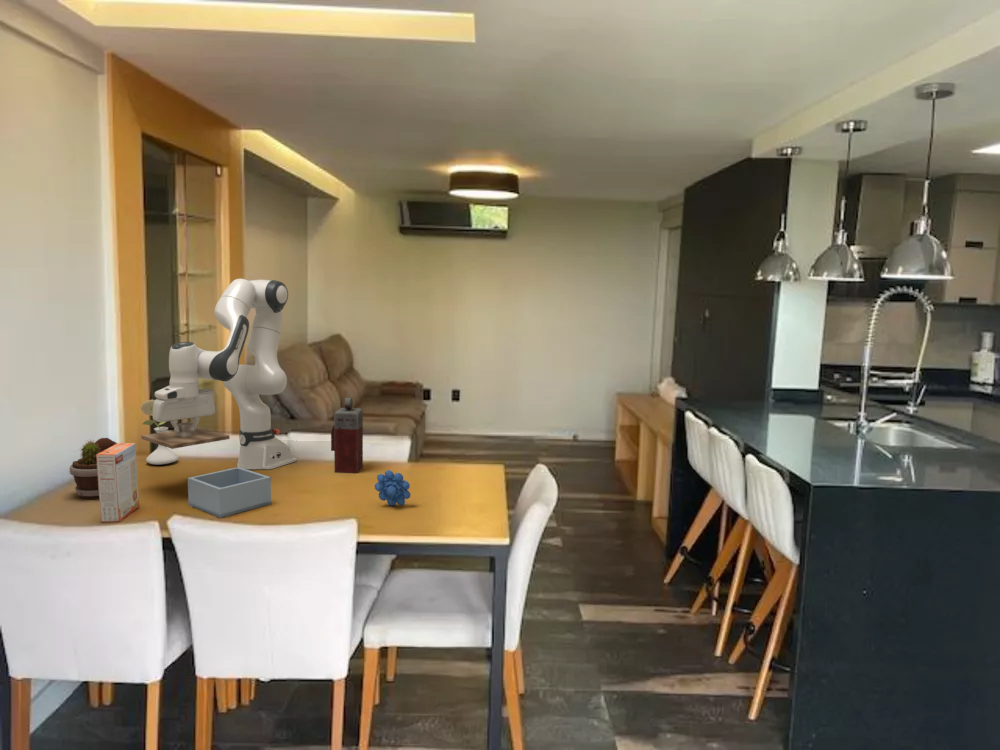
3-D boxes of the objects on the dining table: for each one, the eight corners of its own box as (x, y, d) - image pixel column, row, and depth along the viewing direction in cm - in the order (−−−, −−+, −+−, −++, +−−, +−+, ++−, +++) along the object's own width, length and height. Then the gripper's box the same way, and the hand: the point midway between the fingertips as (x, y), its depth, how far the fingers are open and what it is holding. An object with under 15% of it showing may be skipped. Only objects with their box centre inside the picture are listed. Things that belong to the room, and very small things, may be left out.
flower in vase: (183, 459, 278) (181, 397, 275) (171, 467, 267) (169, 402, 264) (149, 459, 278) (146, 396, 274) (136, 466, 266) (133, 401, 263)
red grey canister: (334, 466, 275) (333, 395, 271) (362, 467, 275) (362, 396, 271) (328, 472, 266) (327, 399, 262) (357, 473, 266) (357, 400, 262)
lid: (198, 430, 251) (197, 415, 250) (229, 438, 239) (229, 423, 238) (141, 438, 235) (140, 423, 235) (172, 448, 223) (171, 432, 223)
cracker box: (120, 507, 221) (116, 442, 218) (140, 507, 222) (137, 442, 219) (98, 522, 207) (95, 453, 204) (120, 522, 208) (116, 453, 205)
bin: (239, 492, 239) (238, 466, 237) (271, 504, 228) (270, 477, 227) (188, 505, 225) (187, 478, 223) (220, 518, 214) (219, 489, 213)
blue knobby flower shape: (372, 510, 225) (372, 473, 223) (375, 503, 232) (375, 467, 230) (409, 510, 225) (409, 474, 224) (411, 503, 232) (411, 468, 230)
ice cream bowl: (122, 482, 247) (120, 440, 245) (87, 483, 244) (84, 441, 242) (130, 473, 257) (128, 433, 255) (96, 474, 255) (94, 434, 253)
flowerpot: (84, 488, 239) (81, 430, 237) (130, 488, 240) (128, 431, 238) (60, 501, 225) (56, 440, 222) (110, 501, 226) (107, 441, 223)
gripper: (208, 386, 245) (209, 425, 247) (149, 393, 229) (151, 434, 231) (218, 388, 241) (219, 428, 243) (159, 395, 225) (160, 437, 227)
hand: (185, 431), depth 237 cm, fingers closed on lid, 4 cm apart
